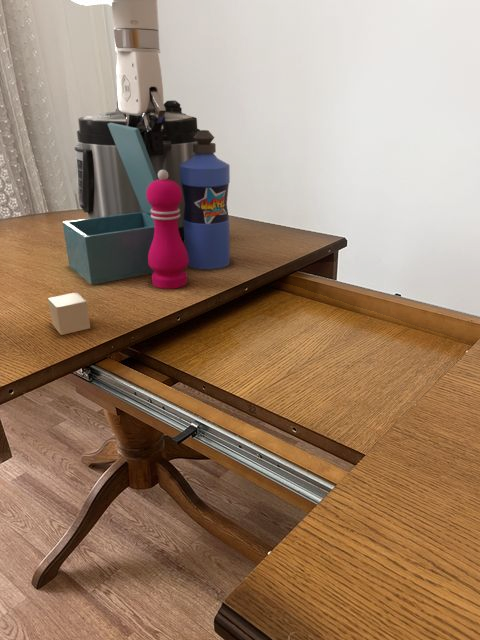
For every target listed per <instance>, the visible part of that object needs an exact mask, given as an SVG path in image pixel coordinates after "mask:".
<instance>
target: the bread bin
mask: <svg viewBox="0 0 480 640" xmlns="http://www.w3.org/2000/svg"><path fill="white" fill-rule="evenodd" d="M62 227H63V235H64V240H65V247H66V253H67V261H68V266H69V267H70V269H72V270H73V271H75V272H76V273H77V274H78V275H79V276H80V277H81V278H82V279H84V280H85V281H86V282H87V283H88V284H90V286H93V285H98V284H103V283H110V282H114V281H119V280H125V279H129V278H135V277H140V276H145V275H150V274H151V275H152V274H153V273H154V271H153V270H152V269H151V268H150V266H149V264H148V254H149V250H150V247H151V244H152V241H153V238H154V227H155V225H154V219H153V218H152V217H151V215H150V214H148V213H146V212H136V213H128V214H120V215H112V216H104V217H97V218H81V219H75V220H65V221H62Z"/></svg>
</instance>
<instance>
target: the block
mask: <svg viewBox="0 0 480 640" xmlns="http://www.w3.org/2000/svg"><path fill="white" fill-rule="evenodd" d="M47 302H48V307H49V314H50V319H51V324H52V326H53V327H54V328H55V330H56V331H57V332H58V333H59V334H60V336H64V335H68V334H73V333H76V332H77V333H78V332H81V331H85V330H89V329H91V322H90V321H91V320H90V316H89V315H90V314H89V307H88V301H87V300H86V299H85V298H83V297H82V296H81V294H79V293H78V292H72V293H66V294H60V295H57V296H51V297H47Z"/></svg>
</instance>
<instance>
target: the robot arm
mask: <svg viewBox="0 0 480 640" xmlns="http://www.w3.org/2000/svg"><path fill="white" fill-rule="evenodd" d="M71 1H72V2H74V3H76V4H78V5H83V6H94V5H110V6H111V16H112V26H113V36H114V38H113V39H114V46H115V53H116V88H117V101H118V105H119V110H120V111H121V112H122V113H124V116H125V118H126V126H129V127H134V128H136V125H137V124H138V123H140V122H141V123H142V119H144V122H145V126H146V130H147V132H145V136H142V139H143V142H144V144H146V150H147V152H148V155H149V156H155V155H163V154H164V149H163V133H162V131H163V122H164V115H165V111H166V109H165V106H164V103H165V99H164V98H165V97H164V86H163V78H162V70H161V62H160V56H159V54H161V42H160V29H159V28H160V26H159V11H158V0H71ZM136 116H137V117H136ZM149 118H152V120H151V123H150V119H149Z"/></svg>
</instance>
